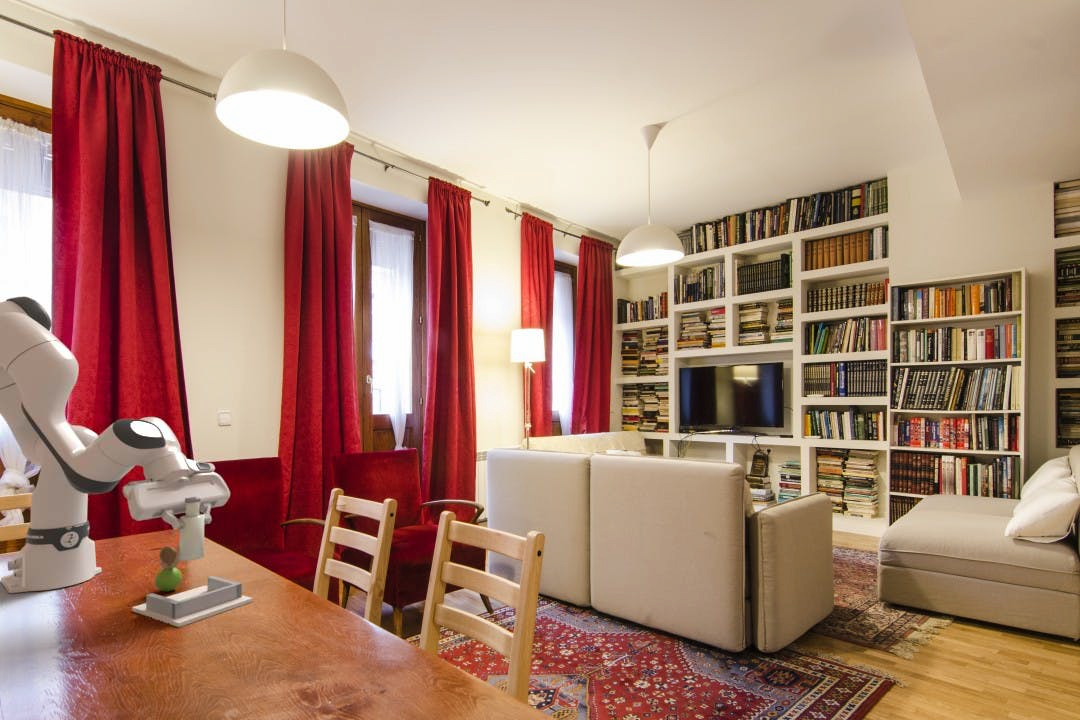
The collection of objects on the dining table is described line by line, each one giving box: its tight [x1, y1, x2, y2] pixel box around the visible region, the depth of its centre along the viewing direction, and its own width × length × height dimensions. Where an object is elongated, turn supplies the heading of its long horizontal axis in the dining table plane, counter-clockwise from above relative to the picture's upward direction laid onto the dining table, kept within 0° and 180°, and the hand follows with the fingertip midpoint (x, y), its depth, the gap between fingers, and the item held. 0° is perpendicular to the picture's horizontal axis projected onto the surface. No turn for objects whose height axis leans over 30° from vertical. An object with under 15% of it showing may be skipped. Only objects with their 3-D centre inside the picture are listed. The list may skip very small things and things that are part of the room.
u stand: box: [131, 575, 254, 628], centre depth 129 cm, size 18×16×4 cm
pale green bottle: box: [179, 497, 205, 562], centre depth 129 cm, size 5×5×13 cm
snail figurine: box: [154, 540, 183, 593], centre depth 139 cm, size 5×6×12 cm
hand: (193, 525), depth 129 cm, fingers closed on pale green bottle, 5 cm apart
